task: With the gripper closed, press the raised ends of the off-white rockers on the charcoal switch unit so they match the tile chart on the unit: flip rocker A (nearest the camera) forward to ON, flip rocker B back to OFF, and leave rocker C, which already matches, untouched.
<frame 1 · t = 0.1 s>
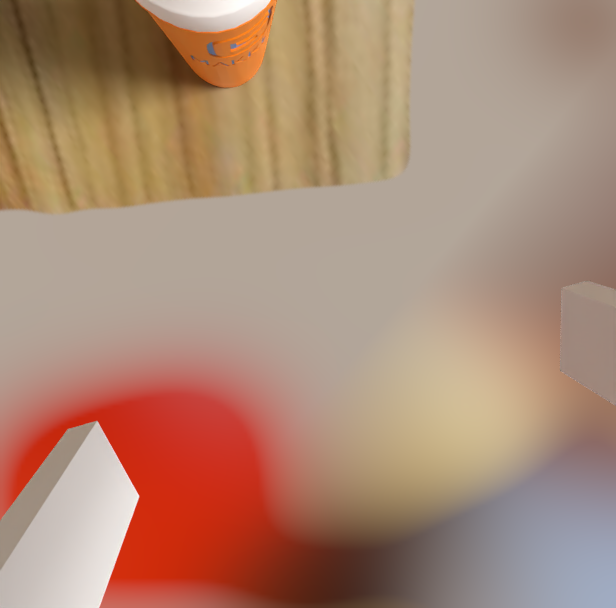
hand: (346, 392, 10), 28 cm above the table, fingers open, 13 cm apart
shaker bottle: (223, 41, 30), on the table
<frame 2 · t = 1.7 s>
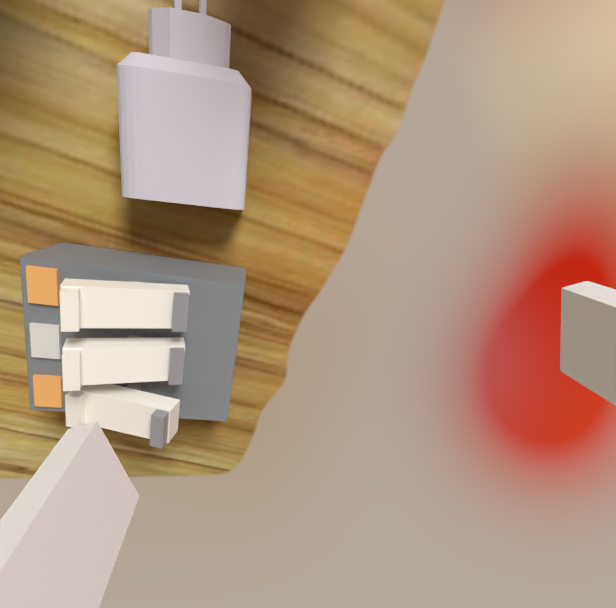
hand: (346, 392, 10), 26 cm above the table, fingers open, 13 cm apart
charger: (194, 107, 30), on the table
rocker B: (127, 362, 27), point 8 cm above the table, hinge at 15.0°
switch unit: (154, 321, 35), on the table
rocker A: (123, 413, 28), point 8 cm above the table, hinge at -15.0°
rocker C: (129, 306, 26), point 8 cm above the table, hinge at 15.0°
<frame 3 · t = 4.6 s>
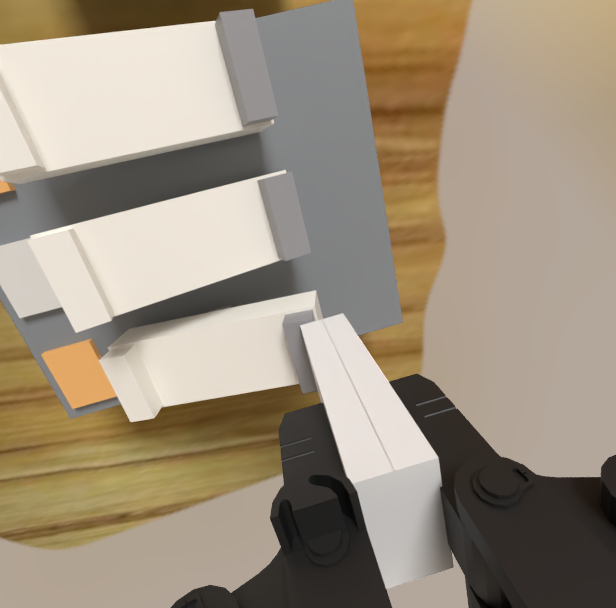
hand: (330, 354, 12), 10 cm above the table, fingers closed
rocker B: (186, 243, 12), point 8 cm above the table, hinge at 15.0°
switch unit: (209, 218, 20), on the table
rocker A: (222, 357, 14), point 8 cm above the table, hinge at -12.0°, touching gripper
rocker C: (133, 97, 11), point 8 cm above the table, hinge at 15.0°
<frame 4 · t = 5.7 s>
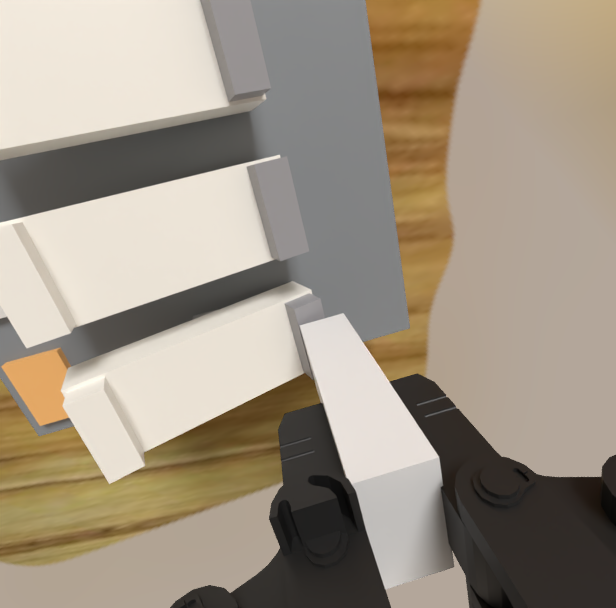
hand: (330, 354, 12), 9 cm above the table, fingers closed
rocker B: (163, 240, 10), point 8 cm above the table, hinge at 15.0°
switch unit: (196, 211, 18), on the table
rocker A: (214, 368, 12), point 8 cm above the table, hinge at 17.9°, touching gripper
rocker C: (94, 63, 9), point 8 cm above the table, hinge at 15.0°
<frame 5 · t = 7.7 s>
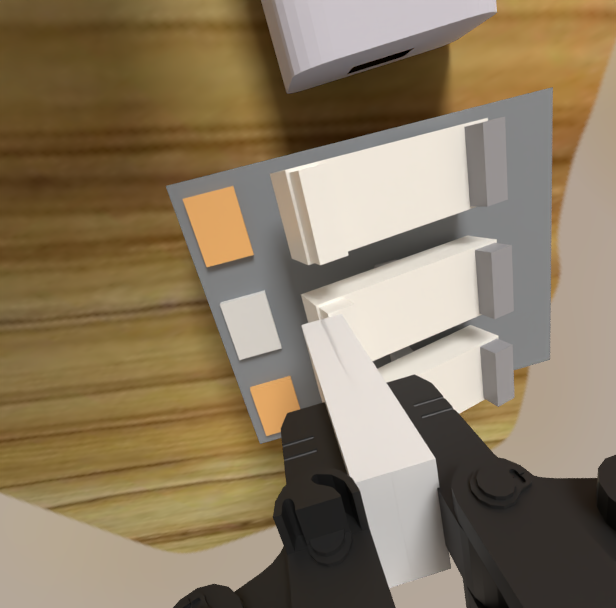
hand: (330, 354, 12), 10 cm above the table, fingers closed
rocker B: (411, 303, 14), point 8 cm above the table, hinge at 12.5°, touching gripper
switch unit: (355, 258, 22), on the table
rocker A: (425, 395, 16), point 8 cm above the table, hinge at 15.2°
rocker C: (395, 188, 13), point 8 cm above the table, hinge at 15.0°
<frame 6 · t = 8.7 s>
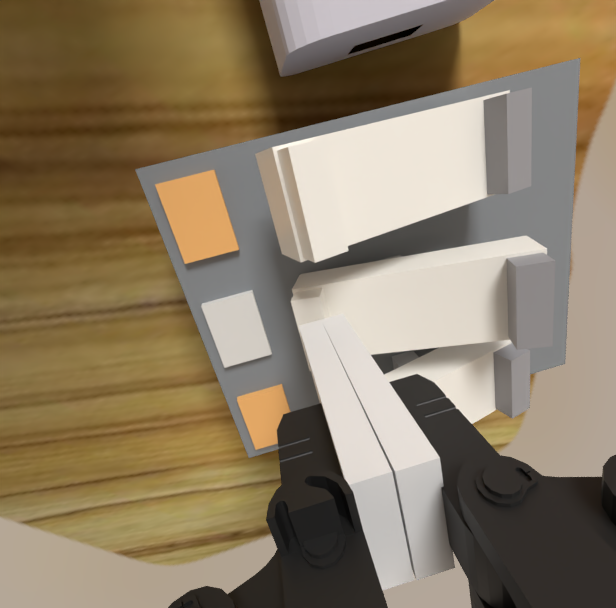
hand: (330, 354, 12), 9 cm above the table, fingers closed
rocker B: (413, 307, 13), point 8 cm above the table, hinge at -18.4°, touching gripper, switch unit
switch unit: (353, 253, 20), on the table
rocker A: (432, 406, 14), point 8 cm above the table, hinge at 15.2°
rocker C: (402, 172, 11), point 8 cm above the table, hinge at 15.0°
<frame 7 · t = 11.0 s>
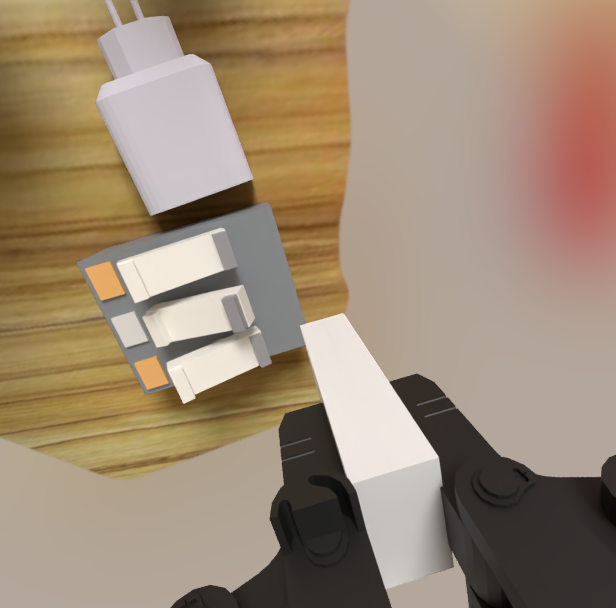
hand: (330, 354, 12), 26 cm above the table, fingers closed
charger: (172, 111, 31), on the table
rocker B: (199, 317, 29), point 8 cm above the table, hinge at -15.8°
switch unit: (211, 286, 37), on the table
rocker A: (221, 363, 30), point 8 cm above the table, hinge at 15.2°
rocker C: (180, 263, 27), point 8 cm above the table, hinge at 15.0°
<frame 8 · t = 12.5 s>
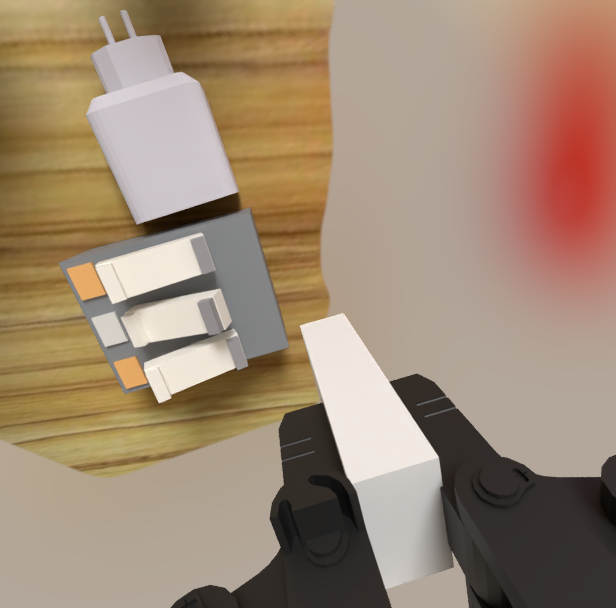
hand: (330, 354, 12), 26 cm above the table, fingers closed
charger: (162, 123, 33), on the table
rocker B: (177, 319, 30), point 8 cm above the table, hinge at -15.8°
switch unit: (194, 289, 37), on the table
rocker A: (198, 364, 31), point 8 cm above the table, hinge at 15.2°
rocker C: (158, 266, 28), point 8 cm above the table, hinge at 15.0°
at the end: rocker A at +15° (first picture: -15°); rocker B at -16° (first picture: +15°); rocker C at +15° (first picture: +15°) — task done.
